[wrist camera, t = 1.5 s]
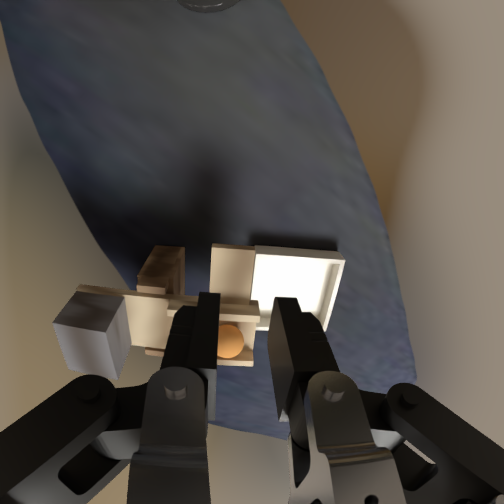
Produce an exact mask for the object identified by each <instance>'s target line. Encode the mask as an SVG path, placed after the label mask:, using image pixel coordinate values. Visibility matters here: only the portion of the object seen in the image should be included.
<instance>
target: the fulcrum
mask: <svg viewBox="0 0 504 504" xmlns="http://www.w3.org/2000/svg"><path fill="white" fill-rule="evenodd" d="M137 277H138V284H137V292H142V293H152V294H162V295H165V294H175V295H185V247H176V246H162V245H155V247H154V248H153V250H152V252H151V253H150V255H149V257H148V258H147V260H146V262H145V263H144V265H143V267H142V268H141V270H140V272H139V274H138V275H137ZM164 351H165V349H160V348H152V347H145V354H146V355H153V356H162V357H163V355H164Z"/></svg>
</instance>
